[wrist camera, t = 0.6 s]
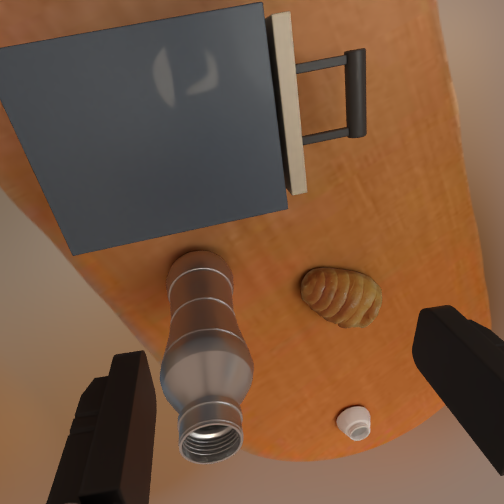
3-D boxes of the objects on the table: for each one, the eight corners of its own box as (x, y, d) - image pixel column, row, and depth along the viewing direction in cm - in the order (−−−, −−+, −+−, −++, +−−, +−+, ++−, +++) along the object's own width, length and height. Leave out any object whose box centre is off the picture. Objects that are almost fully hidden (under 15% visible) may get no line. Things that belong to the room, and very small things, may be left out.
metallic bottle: (156, 257, 36) (128, 433, 19) (217, 233, 36) (247, 387, 19) (182, 304, 39) (179, 493, 22) (239, 282, 39) (282, 454, 22)
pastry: (286, 299, 41) (295, 320, 38) (315, 251, 39) (327, 268, 36) (350, 321, 45) (363, 341, 41) (380, 277, 42) (397, 295, 39)
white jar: (355, 429, 55) (373, 407, 53) (363, 447, 52) (383, 425, 51) (329, 424, 53) (347, 401, 51) (336, 442, 51) (355, 418, 49)
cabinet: (240, 21, 28) (262, 1, 20) (264, 176, 34) (288, 209, 26) (40, 57, 27) (-23, 51, 19) (100, 210, 33) (72, 256, 25)
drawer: (337, 11, 28) (382, -6, 22) (343, 155, 34) (381, 176, 27) (79, 58, 27) (44, 55, 20) (128, 200, 32) (114, 234, 26)
